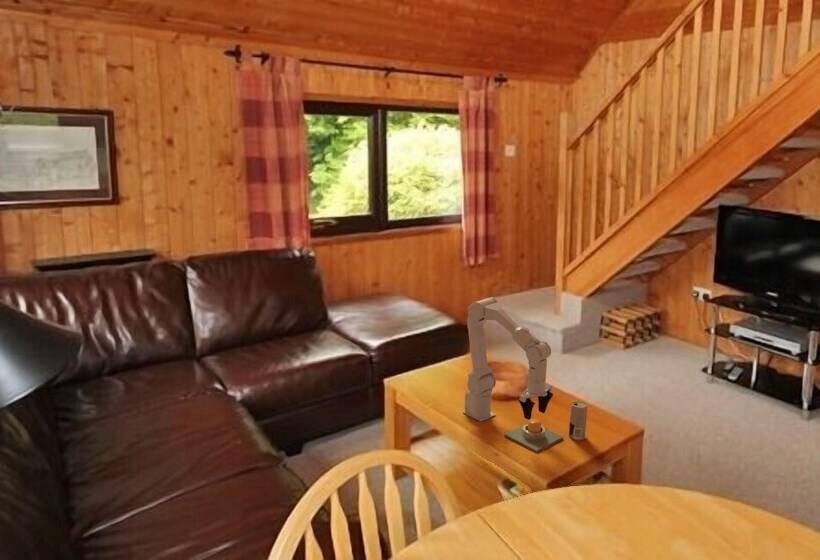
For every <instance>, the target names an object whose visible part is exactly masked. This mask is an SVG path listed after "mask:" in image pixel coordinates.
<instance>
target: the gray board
mask: <svg viewBox="0 0 820 560" xmlns="http://www.w3.org/2000/svg"><path fill="white" fill-rule="evenodd" d="M526 424H528V422H527V423H525V424H524V425H526ZM524 425H519V426H518V427H515V428H514V429H513V430H510V431H508V432H506V433H503V436H504V437H505V438H507V439H509V440H511V441H513V442H515V443H517V444H519V445H520V446H522V445H523V446H522V447H524V446H525V448H526V449H528V450H530V451H532V452H534V453H539V452H541V451H543V450H545V449H546V448H548V447H551V446H552V445H555V444H556V443H558V442H560V441H562V440H564V436H562V435H560V434H558V433H555V432H553V431H552V430H549V429H547V428H545V438H544V439H543V440H541V441H531V440H528V439H526V438H524V437H523V435H522V430H523V426H524Z"/></svg>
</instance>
